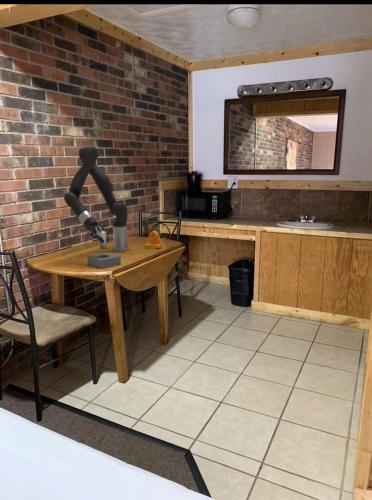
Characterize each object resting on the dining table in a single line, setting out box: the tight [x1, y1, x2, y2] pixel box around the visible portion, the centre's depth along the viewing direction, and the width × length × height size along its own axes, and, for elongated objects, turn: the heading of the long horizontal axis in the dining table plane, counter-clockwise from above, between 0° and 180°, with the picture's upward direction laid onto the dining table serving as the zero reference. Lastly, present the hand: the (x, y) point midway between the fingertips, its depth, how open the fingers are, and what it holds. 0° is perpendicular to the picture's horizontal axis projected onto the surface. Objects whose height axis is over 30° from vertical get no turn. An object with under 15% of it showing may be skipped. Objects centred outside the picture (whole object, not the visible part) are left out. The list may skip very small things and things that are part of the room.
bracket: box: [144, 230, 163, 250], centre depth 264 cm, size 11×7×12 cm, turn 74°
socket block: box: [86, 252, 122, 270], centre depth 218 cm, size 14×14×5 cm
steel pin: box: [99, 230, 108, 250], centre depth 215 cm, size 4×4×10 cm
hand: (105, 241), depth 215 cm, fingers closed on steel pin, 4 cm apart
